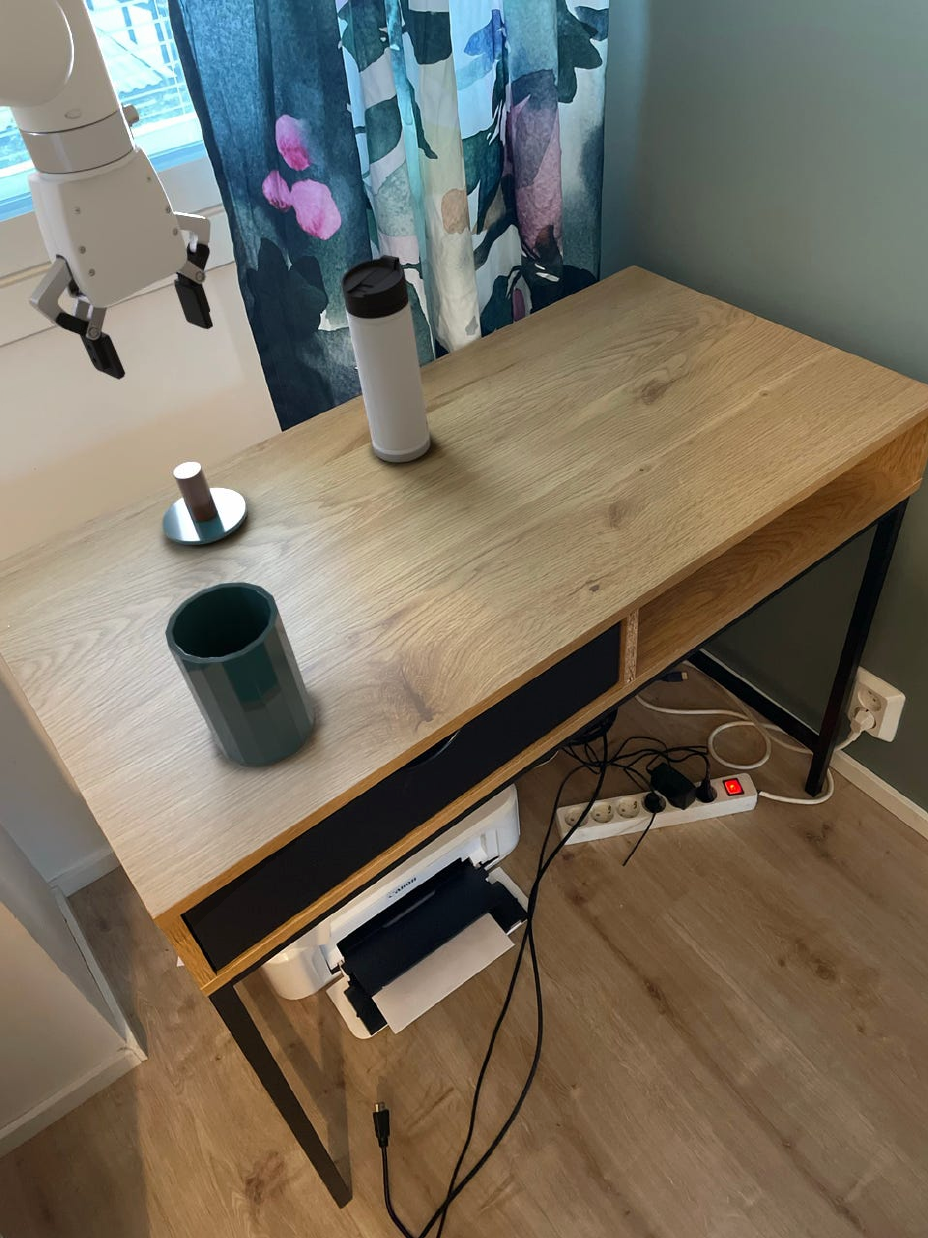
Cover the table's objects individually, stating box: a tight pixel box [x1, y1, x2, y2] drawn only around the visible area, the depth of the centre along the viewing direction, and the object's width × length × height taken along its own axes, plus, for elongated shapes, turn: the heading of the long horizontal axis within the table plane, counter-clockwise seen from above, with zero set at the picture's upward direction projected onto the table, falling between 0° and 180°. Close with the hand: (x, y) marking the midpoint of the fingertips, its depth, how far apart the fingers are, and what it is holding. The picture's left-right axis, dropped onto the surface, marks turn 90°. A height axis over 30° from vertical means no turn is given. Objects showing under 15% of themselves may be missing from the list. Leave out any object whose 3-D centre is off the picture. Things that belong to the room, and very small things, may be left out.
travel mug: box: [340, 254, 431, 463], centre depth 92 cm, size 6×7×20 cm
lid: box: [162, 461, 248, 546], centre depth 90 cm, size 9×9×7 cm
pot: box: [164, 581, 315, 768], centre depth 69 cm, size 8×8×12 cm
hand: (158, 348), depth 80 cm, fingers open, 9 cm apart
